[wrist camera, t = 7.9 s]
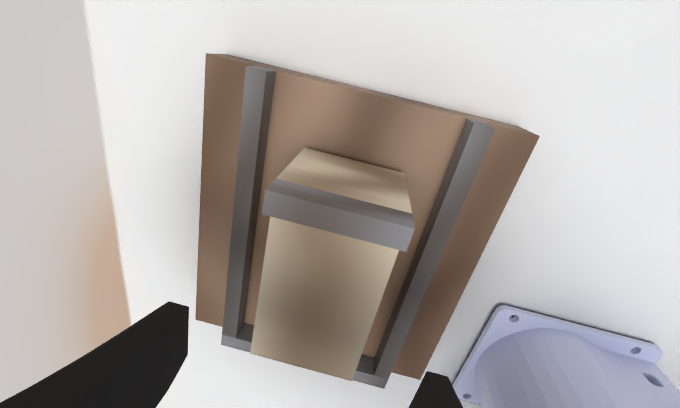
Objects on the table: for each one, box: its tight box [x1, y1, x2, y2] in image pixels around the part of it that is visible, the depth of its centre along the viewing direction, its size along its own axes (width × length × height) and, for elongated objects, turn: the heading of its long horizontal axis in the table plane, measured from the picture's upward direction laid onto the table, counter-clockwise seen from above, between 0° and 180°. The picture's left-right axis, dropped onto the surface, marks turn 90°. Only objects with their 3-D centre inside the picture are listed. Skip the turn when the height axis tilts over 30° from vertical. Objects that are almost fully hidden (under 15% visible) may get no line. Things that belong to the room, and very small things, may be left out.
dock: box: [196, 54, 539, 388], centre depth 17 cm, size 14×15×3 cm
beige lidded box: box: [250, 148, 415, 381], centre depth 13 cm, size 4×8×6 cm, turn 167°
